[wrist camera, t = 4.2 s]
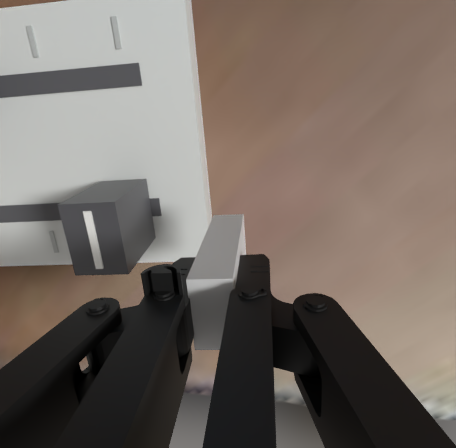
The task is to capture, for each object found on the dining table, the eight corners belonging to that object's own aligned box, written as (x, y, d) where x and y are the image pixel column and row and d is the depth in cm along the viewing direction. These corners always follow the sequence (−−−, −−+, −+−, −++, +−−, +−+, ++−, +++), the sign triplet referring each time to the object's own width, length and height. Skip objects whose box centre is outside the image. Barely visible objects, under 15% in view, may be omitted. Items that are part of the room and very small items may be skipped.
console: (-141, 34, 23) (-180, 28, 21) (190, -4, 20) (182, -14, 18) (-54, 256, 28) (-78, 269, 26) (214, 248, 26) (211, 261, 24)
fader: (100, 181, 22) (56, 205, 17) (146, 178, 22) (113, 202, 17) (112, 239, 23) (74, 276, 19) (155, 237, 23) (128, 274, 18)
